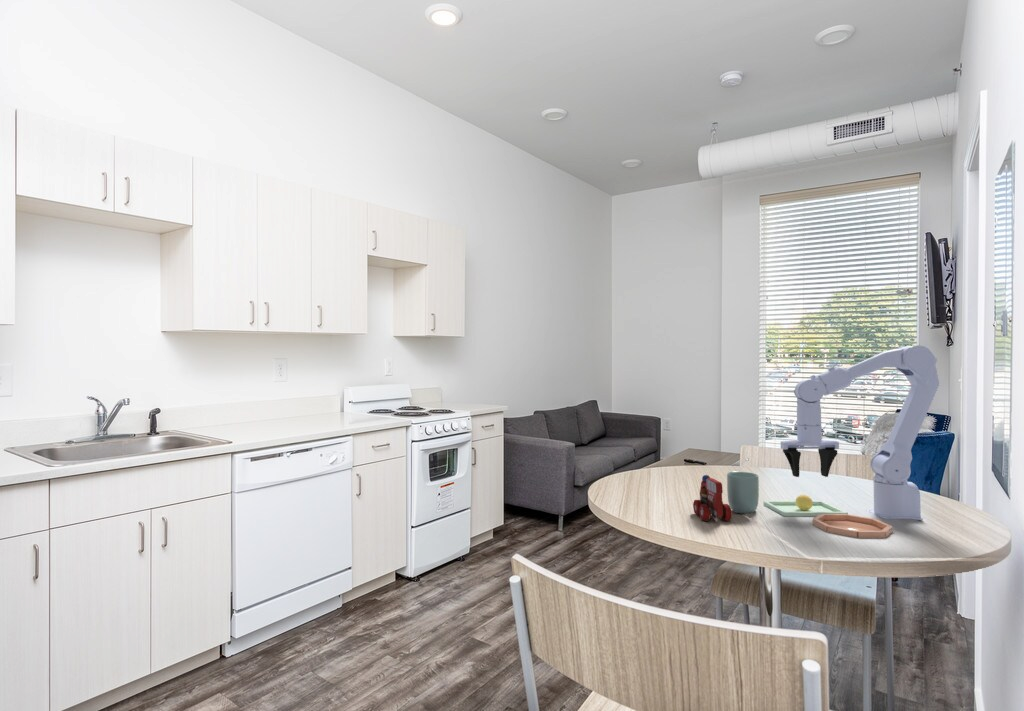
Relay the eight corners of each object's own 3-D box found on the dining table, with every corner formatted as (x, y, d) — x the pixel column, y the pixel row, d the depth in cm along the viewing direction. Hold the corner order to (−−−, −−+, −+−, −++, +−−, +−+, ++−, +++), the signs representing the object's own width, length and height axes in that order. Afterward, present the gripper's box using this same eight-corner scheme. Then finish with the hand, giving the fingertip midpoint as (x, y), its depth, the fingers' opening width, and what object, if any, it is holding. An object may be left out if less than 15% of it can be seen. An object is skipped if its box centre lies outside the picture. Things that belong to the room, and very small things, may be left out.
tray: (822, 506, 152) (822, 501, 152) (848, 518, 140) (848, 512, 140) (763, 506, 152) (763, 501, 152) (784, 518, 140) (784, 512, 140)
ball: (808, 508, 147) (808, 493, 148) (815, 512, 143) (815, 496, 144) (793, 508, 148) (792, 493, 148) (799, 511, 144) (799, 496, 144)
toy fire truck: (716, 511, 147) (715, 472, 148) (734, 524, 135) (734, 481, 135) (690, 511, 147) (689, 472, 148) (706, 524, 135) (705, 481, 135)
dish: (864, 521, 137) (864, 514, 137) (906, 540, 122) (906, 532, 122) (803, 521, 137) (803, 513, 137) (837, 540, 122) (837, 531, 122)
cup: (762, 517, 141) (761, 477, 142) (730, 515, 143) (729, 476, 143) (755, 509, 149) (754, 472, 149) (724, 507, 151) (724, 471, 151)
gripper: (827, 423, 151) (829, 473, 151) (774, 423, 151) (775, 473, 151) (843, 425, 144) (844, 478, 144) (787, 426, 144) (788, 478, 144)
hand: (810, 476), depth 147 cm, fingers open, 7 cm apart
